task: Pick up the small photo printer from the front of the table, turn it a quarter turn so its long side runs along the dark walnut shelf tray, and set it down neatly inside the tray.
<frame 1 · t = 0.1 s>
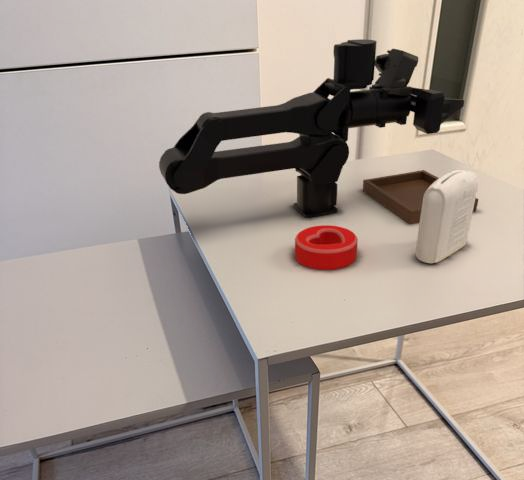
hand: (447, 98, 96), 17 cm above the table, tool horizontal, fingers open, 9 cm apart
decorative ornament: (325, 256, 85), on the table
shelf tray: (416, 200, 102), on the table
photo printer: (440, 253, 84), on the table
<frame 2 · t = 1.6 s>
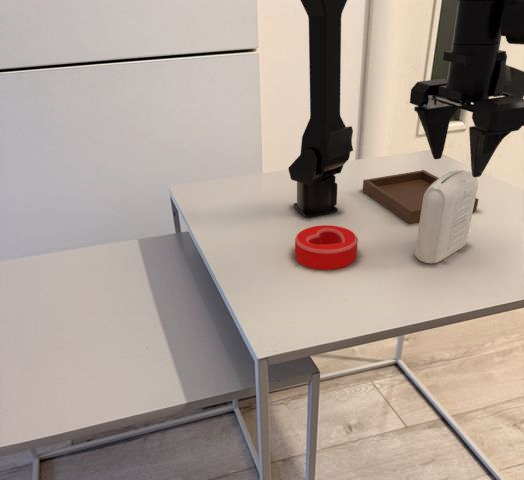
hand: (455, 167, 77), 13 cm above the table, tool pointing down, fingers open, 9 cm apart
nothing on the table moved.
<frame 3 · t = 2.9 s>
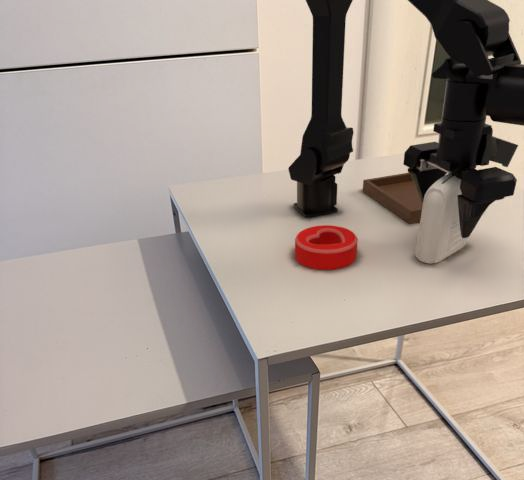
hand: (446, 226, 82), 4 cm above the table, tool pointing down
photo printer: (440, 253, 84), on the table, touching gripper
everything else where it was.
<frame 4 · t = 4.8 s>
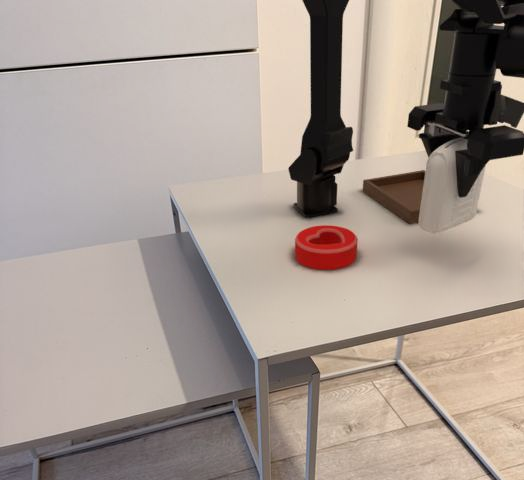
hand: (451, 190, 78), 10 cm above the table, tool pointing down, fingers closed on photo printer, 5 cm apart
photo printer: (446, 224, 82), point 5 cm above the table, touching gripper
everything else where it was.
when the fingers open (6 cm above the table, at t = 10.1 s): photo printer stays where it is, resting on shelf tray.
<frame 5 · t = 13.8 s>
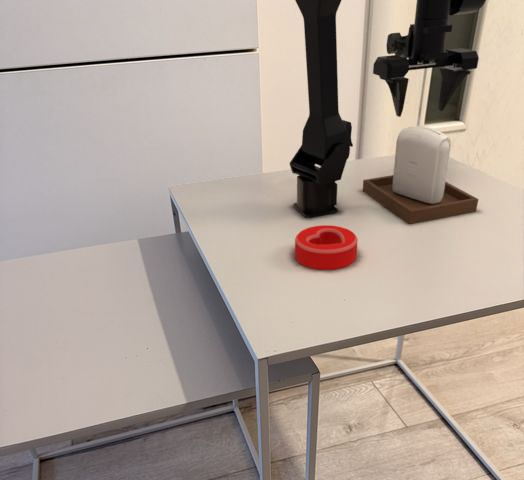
hand: (419, 113, 103), 13 cm above the table, tool pointing down, fingers open, 9 cm apart
photo printer: (416, 197, 101), point 1 cm above the table, touching shelf tray
everything else where it was.
at the end: photo printer inside the target area in the shelf tray (0.1 cm from its centre), point 0.6 cm above the shelf tray's base; photo printer tilted 0°; the gripper is holding nothing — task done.
